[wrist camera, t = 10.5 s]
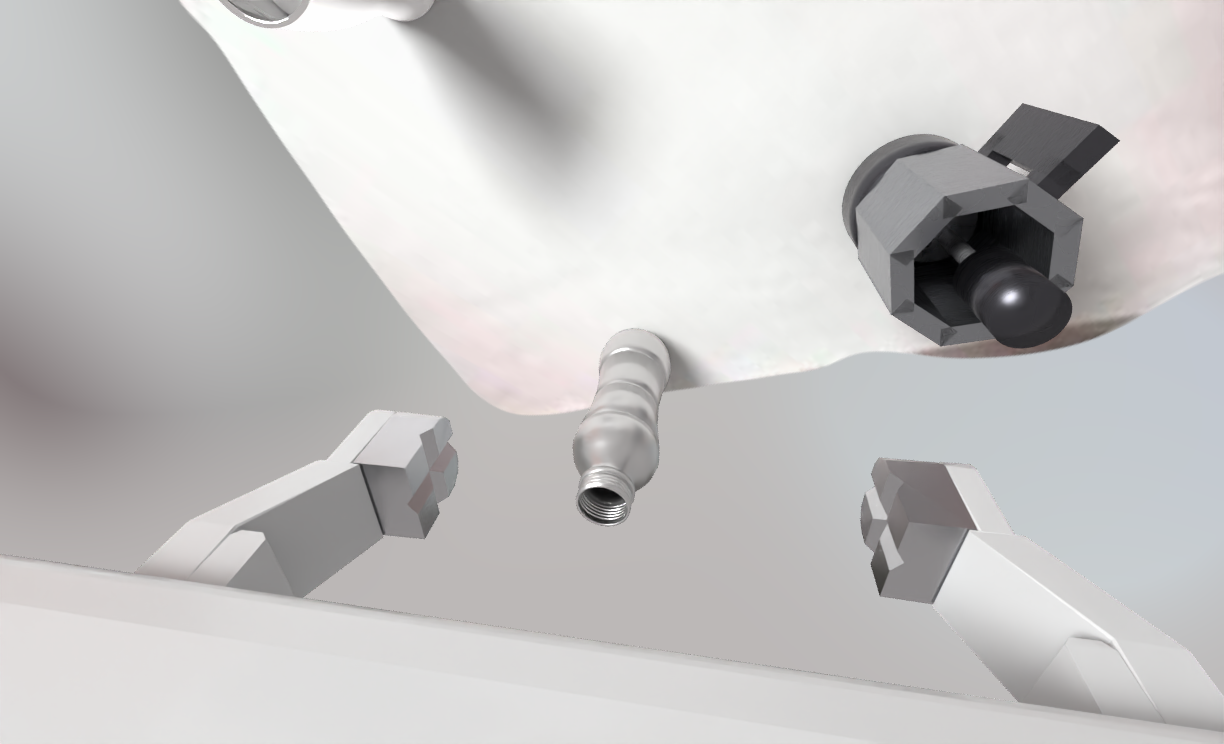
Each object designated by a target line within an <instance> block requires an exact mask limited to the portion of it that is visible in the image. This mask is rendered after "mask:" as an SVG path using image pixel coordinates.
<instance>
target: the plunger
mask: <svg viewBox="0 0 1224 744" xmlns="http://www.w3.org/2000/svg"><path fill="white" fill-rule="evenodd" d="M977 220H978V212H976V213H971V214H966V215H961V216H956V217H954V218H953V219H952V220H951V221H950V222H949V223H948V224H947V225H946V226H945V227H944V228H943V229H942V230H941V231H940V232H939V233H938V234H937V235H936V236H935V237H934V238H933V240H932V241H931V242H930V243H929V244H928V245H927V246H926V247H925V248H924V249H923V250H922V251H921V252H920V253H919V254H918V255H917V256H916V257H915V258H914V261H918V262H934V261H939V260H942V259H945V258H947V257H949V256H952V257H953V258H954V259H955V260H956V261H957V262H958V263H959V264H960V265H959V266H958V267H957V269H956V271H955V273H954V277H953V287H954V290H955V292H956V293H957V295H958V296H959V297H960V298H961V299H962V300H963V302H964V303H965V304H966V305H967V306H968V307H969V308H970V310H971V311H972V312H973V313H974V314H975V315H976V317H977V318H978V319H979V320H980V321H981V322H982V323H983V325H984V326H985V327H986V328H987V329H988V330H989V331H990V333H991V334H992V335H993V336H994V337H995V338H996V339H997V341H999V342H1000V343H1002V344H1003V345H1006V346H1008V347H1012V348H1029V347H1034V346H1037V345H1040V344H1043V343H1045V342H1047V341H1049V340H1050V339H1052V338H1054V337H1055V336H1056V335H1057V334H1059V333H1060V332H1061V331H1062V330H1063V329H1064V327H1065V326H1066V325H1067V323H1068V321H1069V319H1070V317H1071V313H1072V303H1071V300H1070V298H1069V296H1068V295H1067V294H1066V293H1065V292H1064V291H1062V290H1061V289H1060V288H1059V287H1057V286H1056V285H1055V284H1053V283H1052V282H1051V281H1050V280H1048V279H1047V278H1046V277H1045V276H1043V275H1042V274H1041V273H1040V272H1038V271H1037V270H1036V269H1034V268H1033V267H1032V266H1031V265H1029V264H1028V263H1027V262H1026V261H1024V260H1023V259H1022V258H1021V257H1019V256H1018V255H1017V254H1015V253H1014V252H1013V251H1011V250H1010V249H1007V248H1004V247H987V248H983V249H980V250H978V251H975V250H974V249H973V248H972V247H971V246H970V245H968V244H967V242H968V241H969V239H970V238H971V236H972V235H973V233H974V231H975V228H976V225H977Z"/></svg>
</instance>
